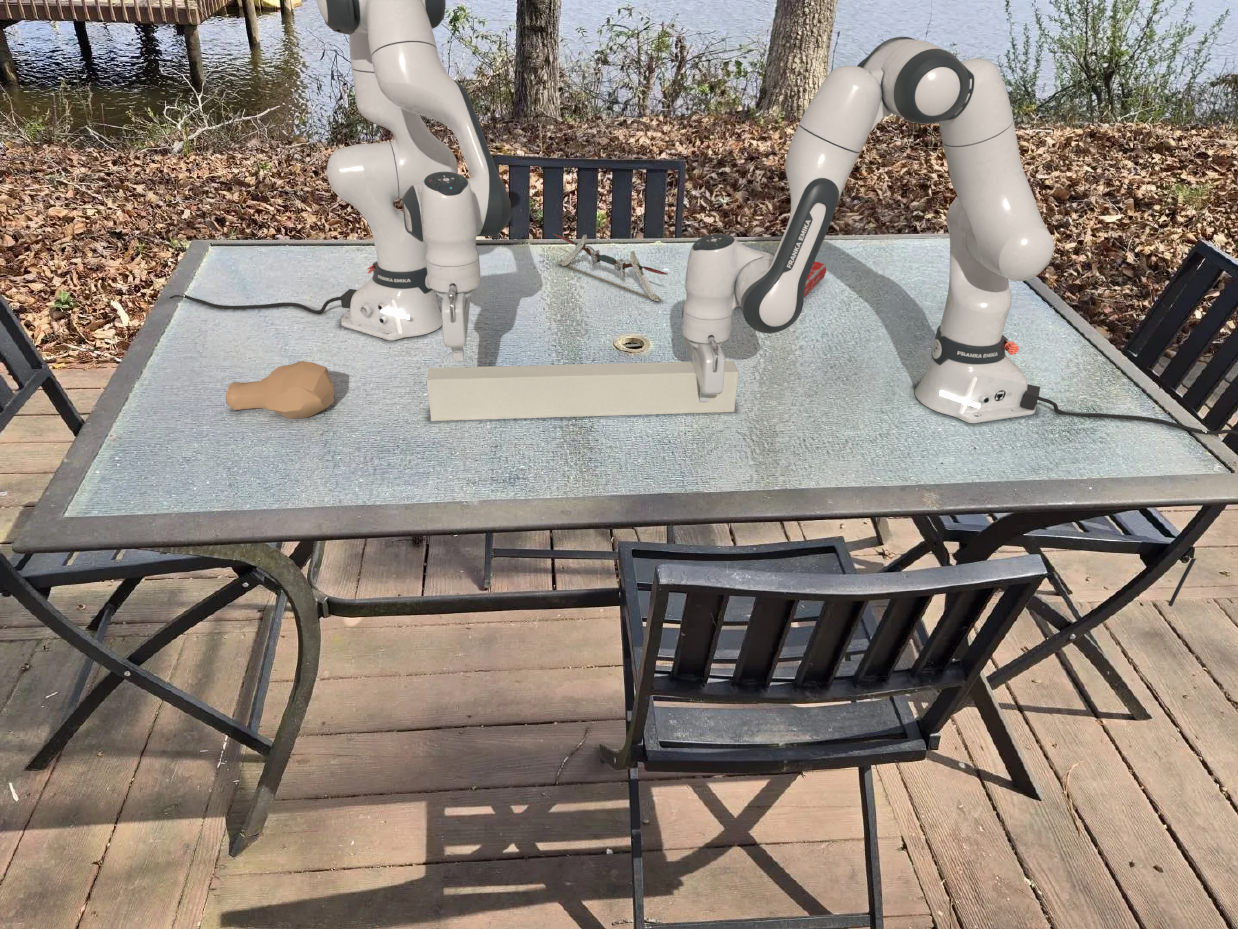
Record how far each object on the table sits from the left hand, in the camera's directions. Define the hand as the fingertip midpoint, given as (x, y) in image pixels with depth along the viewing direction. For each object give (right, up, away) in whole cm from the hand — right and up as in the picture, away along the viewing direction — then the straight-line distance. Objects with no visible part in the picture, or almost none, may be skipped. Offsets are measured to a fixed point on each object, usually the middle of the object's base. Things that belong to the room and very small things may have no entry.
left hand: (460, 347), depth 156 cm
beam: (+22, -11, +10) cm, 26 cm away
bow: (+25, +25, +62) cm, 72 cm away
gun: (+66, +22, +60) cm, 92 cm away
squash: (-34, -11, +7) cm, 36 cm away
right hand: (+44, -7, +10) cm, 46 cm away
